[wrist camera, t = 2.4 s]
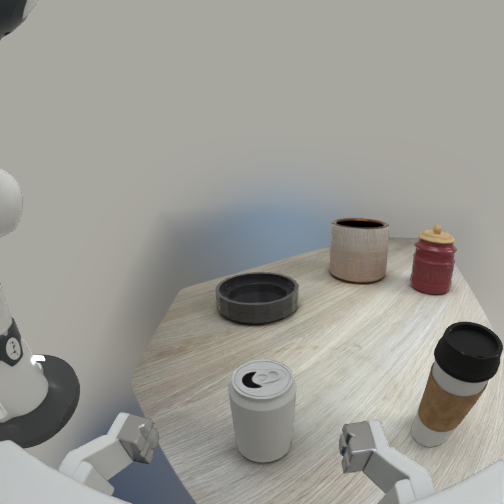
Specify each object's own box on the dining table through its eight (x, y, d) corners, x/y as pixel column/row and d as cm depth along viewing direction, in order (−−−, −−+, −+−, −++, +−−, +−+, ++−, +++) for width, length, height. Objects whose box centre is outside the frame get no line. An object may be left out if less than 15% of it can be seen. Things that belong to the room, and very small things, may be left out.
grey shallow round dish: (216, 329, 53) (213, 307, 52) (219, 292, 71) (217, 274, 70) (306, 321, 54) (307, 300, 53) (288, 287, 72) (288, 269, 71)
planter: (392, 271, 78) (396, 222, 73) (371, 290, 66) (376, 231, 62) (346, 261, 90) (347, 216, 86) (318, 275, 79) (318, 223, 75)
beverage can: (232, 431, 28) (221, 362, 25) (281, 421, 30) (283, 351, 26) (243, 470, 22) (233, 407, 19) (298, 457, 24) (308, 390, 20)
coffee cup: (396, 451, 21) (442, 356, 17) (407, 405, 28) (438, 313, 24) (455, 456, 17) (515, 362, 13) (457, 410, 24) (498, 319, 20)
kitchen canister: (410, 276, 73) (415, 218, 68) (447, 280, 66) (455, 223, 61) (408, 292, 62) (416, 226, 58) (452, 298, 55) (462, 231, 51)
